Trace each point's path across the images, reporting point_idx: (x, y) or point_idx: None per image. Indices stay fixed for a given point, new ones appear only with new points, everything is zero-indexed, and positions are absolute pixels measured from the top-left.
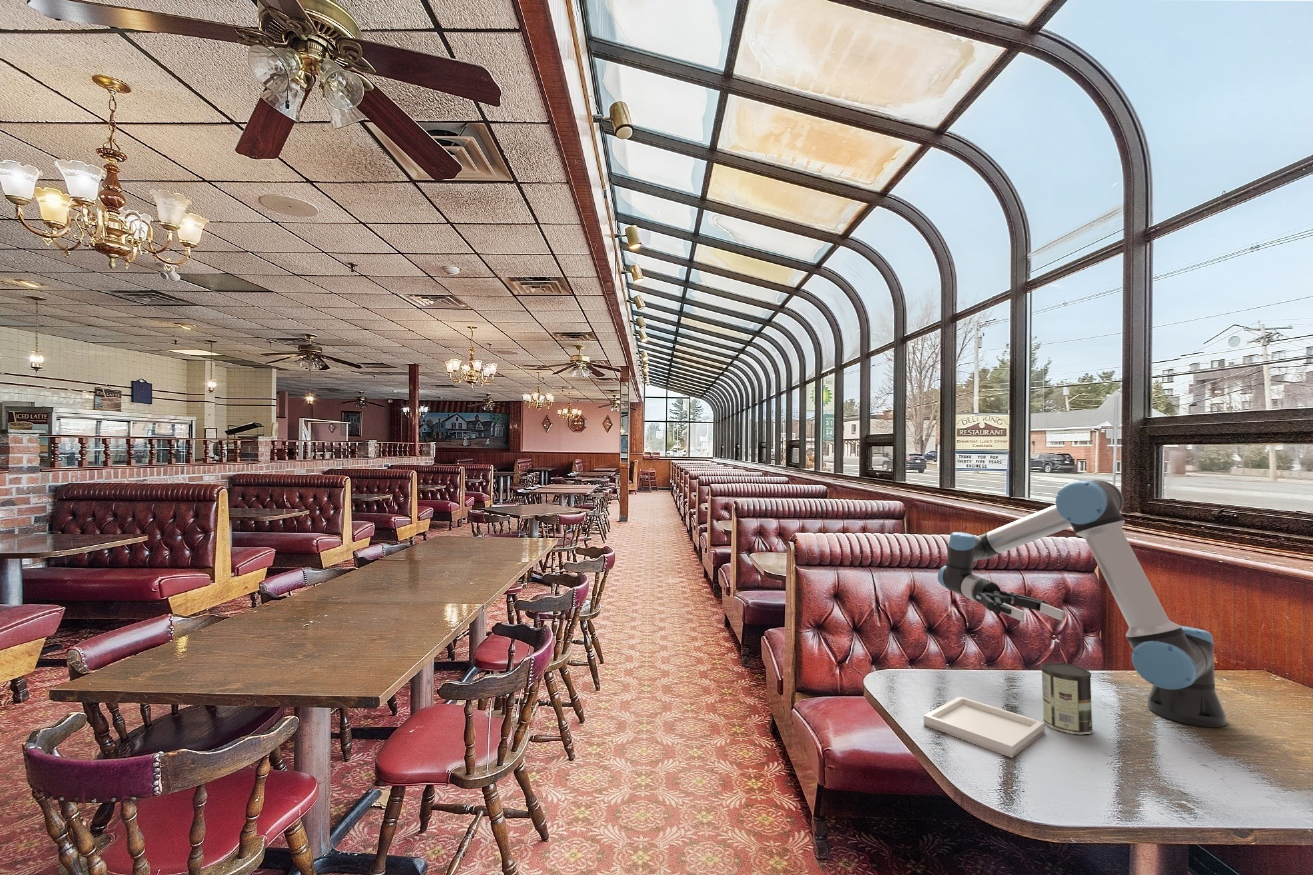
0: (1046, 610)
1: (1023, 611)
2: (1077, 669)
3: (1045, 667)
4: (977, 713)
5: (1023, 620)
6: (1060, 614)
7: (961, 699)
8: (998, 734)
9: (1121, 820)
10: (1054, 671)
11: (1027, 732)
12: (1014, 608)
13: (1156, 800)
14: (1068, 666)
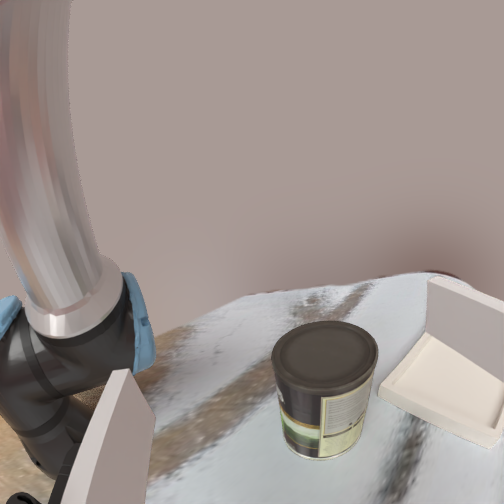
0: (125, 486)
1: (432, 279)
2: (291, 357)
3: (370, 352)
4: (470, 409)
5: (425, 327)
6: (139, 392)
7: (496, 426)
8: (446, 356)
9: (370, 282)
10: (359, 337)
11: (414, 349)
12: (476, 293)
13: (328, 303)
14: (300, 372)
